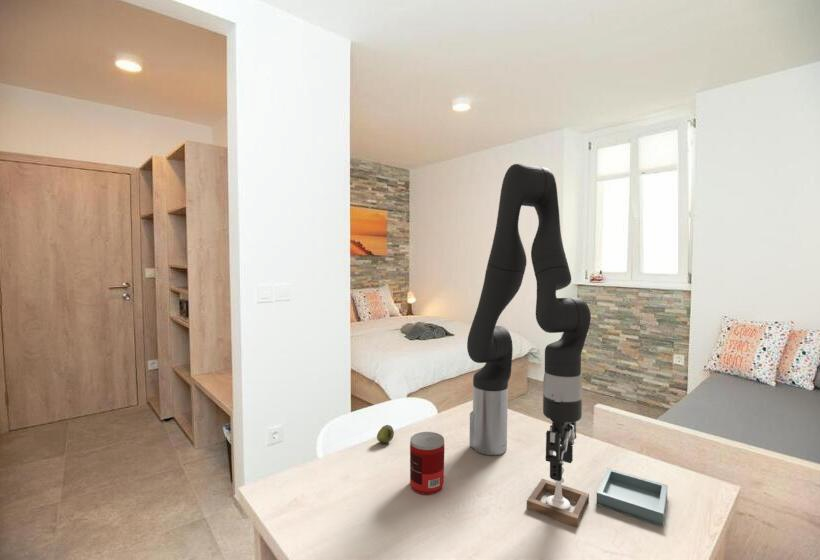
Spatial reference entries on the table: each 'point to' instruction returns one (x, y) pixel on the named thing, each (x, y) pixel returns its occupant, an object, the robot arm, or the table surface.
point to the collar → (553, 511)
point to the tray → (633, 496)
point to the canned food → (427, 462)
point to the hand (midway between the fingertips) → (561, 470)
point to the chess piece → (559, 496)
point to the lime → (385, 434)
